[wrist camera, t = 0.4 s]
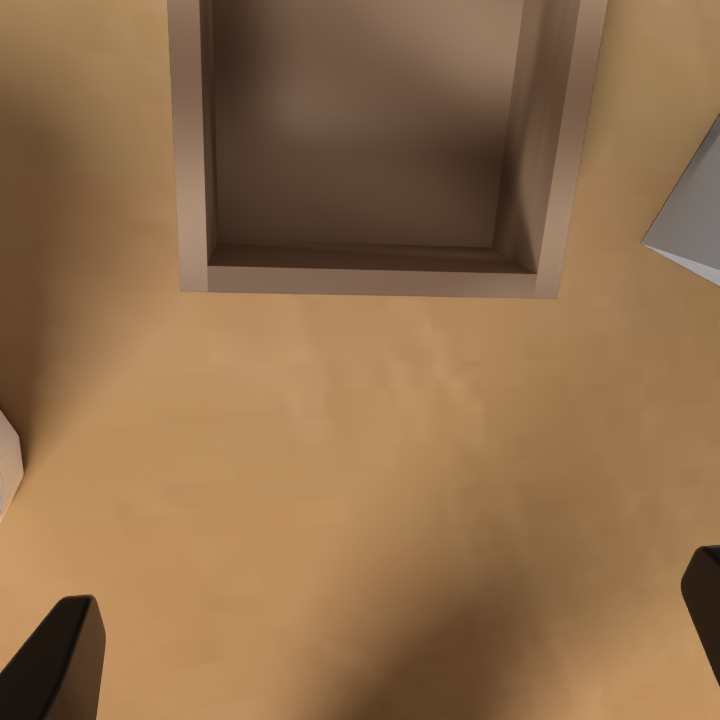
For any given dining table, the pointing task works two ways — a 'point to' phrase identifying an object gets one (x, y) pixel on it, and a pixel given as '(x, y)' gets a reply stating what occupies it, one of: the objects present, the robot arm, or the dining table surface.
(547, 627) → the dining table surface
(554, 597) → the dining table surface
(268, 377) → the dining table surface
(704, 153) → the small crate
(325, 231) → the big crate
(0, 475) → the white cup
